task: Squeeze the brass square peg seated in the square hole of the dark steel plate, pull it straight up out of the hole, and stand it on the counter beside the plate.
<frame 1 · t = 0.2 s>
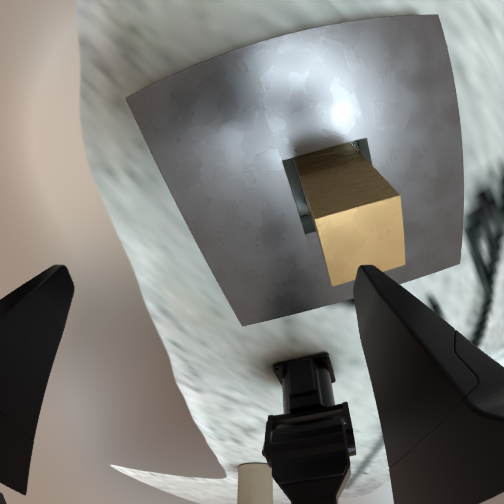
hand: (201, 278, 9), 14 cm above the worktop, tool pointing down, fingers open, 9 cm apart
brass peg: (342, 201, 17), in the post plate
travel mug: (255, 465, 60), on the worktop
post plate: (327, 174, 21), on the worktop
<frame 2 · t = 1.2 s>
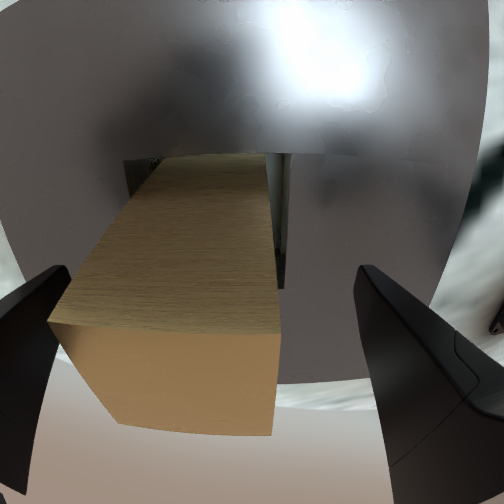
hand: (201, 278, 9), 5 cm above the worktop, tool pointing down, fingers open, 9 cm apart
brass peg: (201, 262, 9), in the post plate
post plate: (216, 200, 13), on the worktop
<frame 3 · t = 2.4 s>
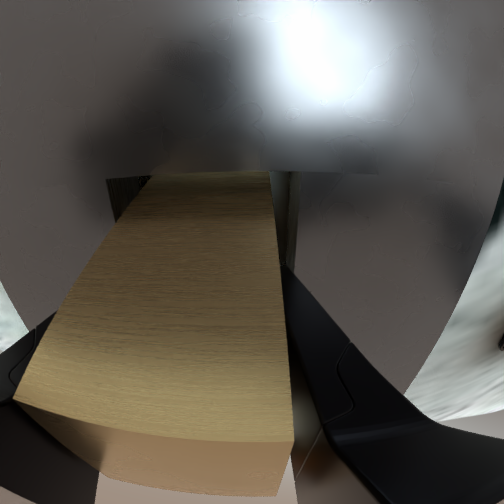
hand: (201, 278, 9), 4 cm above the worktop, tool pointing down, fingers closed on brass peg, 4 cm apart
brass peg: (195, 301, 8), in the post plate, touching gripper
post plate: (214, 219, 12), on the worktop
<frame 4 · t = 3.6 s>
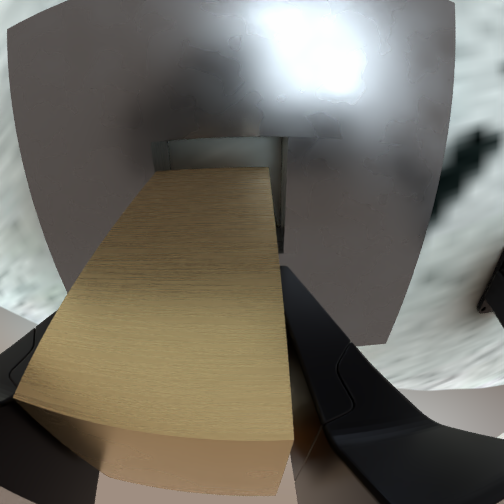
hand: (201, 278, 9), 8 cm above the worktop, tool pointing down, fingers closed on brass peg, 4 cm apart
brass peg: (195, 301, 8), point 9 cm above the worktop, touching gripper
post plate: (225, 179, 15), on the worktop
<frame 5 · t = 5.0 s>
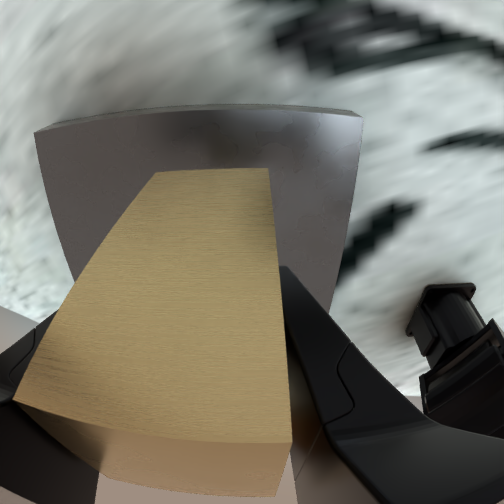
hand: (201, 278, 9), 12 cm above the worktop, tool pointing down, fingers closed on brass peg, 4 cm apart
brass peg: (195, 302, 8), point 13 cm above the worktop, touching gripper
post plate: (196, 244, 23), on the worktop
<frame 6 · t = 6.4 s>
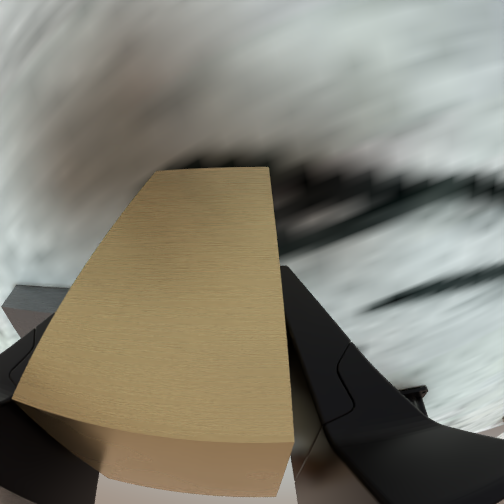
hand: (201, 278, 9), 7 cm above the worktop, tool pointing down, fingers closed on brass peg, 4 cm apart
brass peg: (195, 301, 8), point 8 cm above the worktop, touching gripper
post plate: (156, 377, 24), on the worktop
when the fingers open (5 cm above the worktop, at t = 7.5 s): brass peg drops 1 cm, on the worktop.
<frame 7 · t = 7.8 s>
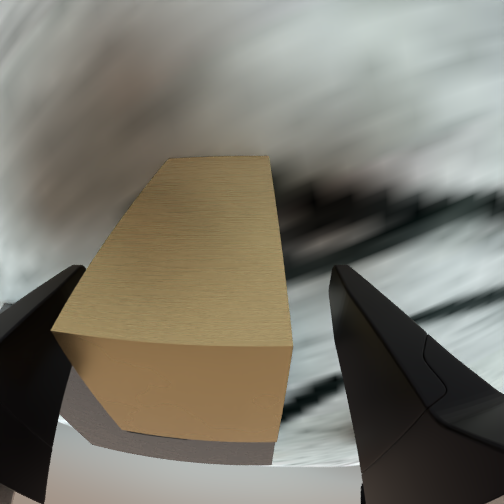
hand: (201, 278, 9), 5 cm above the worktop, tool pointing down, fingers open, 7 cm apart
brass peg: (205, 267, 9), on the worktop
post plate: (152, 398, 22), on the worktop
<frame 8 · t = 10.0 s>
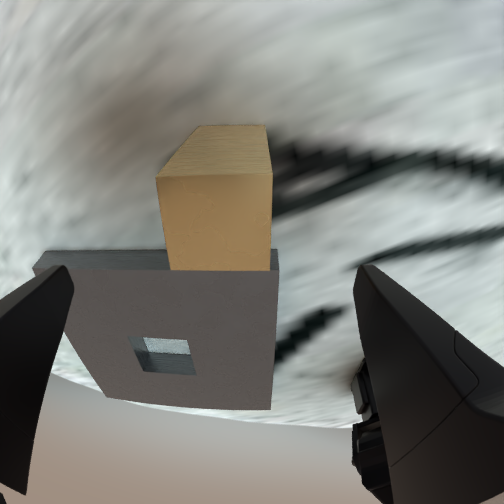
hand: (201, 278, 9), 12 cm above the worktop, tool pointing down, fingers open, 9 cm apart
brass peg: (226, 181, 15), on the worktop
post plate: (168, 336, 28), on the worktop
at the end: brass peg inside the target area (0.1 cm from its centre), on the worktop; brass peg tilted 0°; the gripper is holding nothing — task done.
